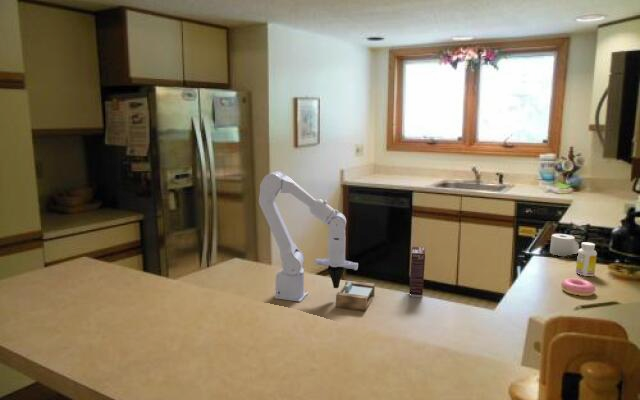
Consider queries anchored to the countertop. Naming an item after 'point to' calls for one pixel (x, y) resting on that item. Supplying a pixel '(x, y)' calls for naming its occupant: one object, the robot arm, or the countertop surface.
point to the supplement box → (417, 272)
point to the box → (354, 298)
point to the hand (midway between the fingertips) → (336, 287)
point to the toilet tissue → (563, 245)
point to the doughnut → (578, 287)
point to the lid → (357, 289)
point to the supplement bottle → (586, 259)
